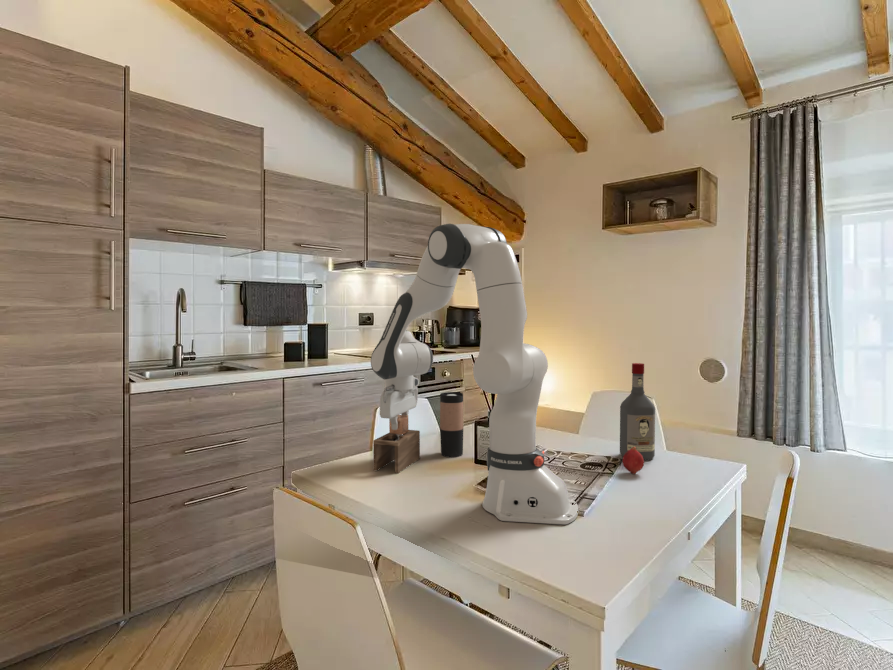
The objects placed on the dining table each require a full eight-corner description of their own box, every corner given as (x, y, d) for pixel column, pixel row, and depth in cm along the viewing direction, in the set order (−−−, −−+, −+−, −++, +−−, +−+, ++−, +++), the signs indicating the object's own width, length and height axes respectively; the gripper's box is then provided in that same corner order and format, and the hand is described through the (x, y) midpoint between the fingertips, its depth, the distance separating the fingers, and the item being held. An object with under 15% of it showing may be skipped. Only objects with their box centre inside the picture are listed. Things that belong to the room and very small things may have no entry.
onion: (622, 476, 148) (622, 448, 148) (622, 470, 153) (622, 443, 153) (644, 478, 146) (644, 449, 146) (643, 472, 152) (643, 444, 151)
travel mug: (437, 452, 174) (437, 392, 173) (459, 450, 176) (458, 391, 175) (444, 458, 166) (443, 396, 165) (466, 456, 169) (466, 395, 168)
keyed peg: (408, 442, 163) (408, 415, 162) (402, 446, 159) (402, 418, 158) (395, 441, 164) (395, 414, 164) (389, 444, 160) (389, 417, 160)
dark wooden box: (419, 458, 166) (419, 430, 166) (398, 473, 151) (397, 442, 151) (397, 456, 169) (396, 428, 169) (373, 470, 154) (373, 440, 154)
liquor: (617, 453, 171) (618, 362, 170) (643, 452, 172) (644, 362, 171) (629, 461, 162) (630, 365, 161) (657, 460, 163) (659, 365, 162)
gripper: (393, 388, 150) (393, 435, 150) (421, 379, 169) (421, 421, 170) (373, 387, 152) (374, 434, 153) (403, 378, 171) (403, 420, 172)
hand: (399, 427), depth 161 cm, fingers closed on keyed peg, 4 cm apart
